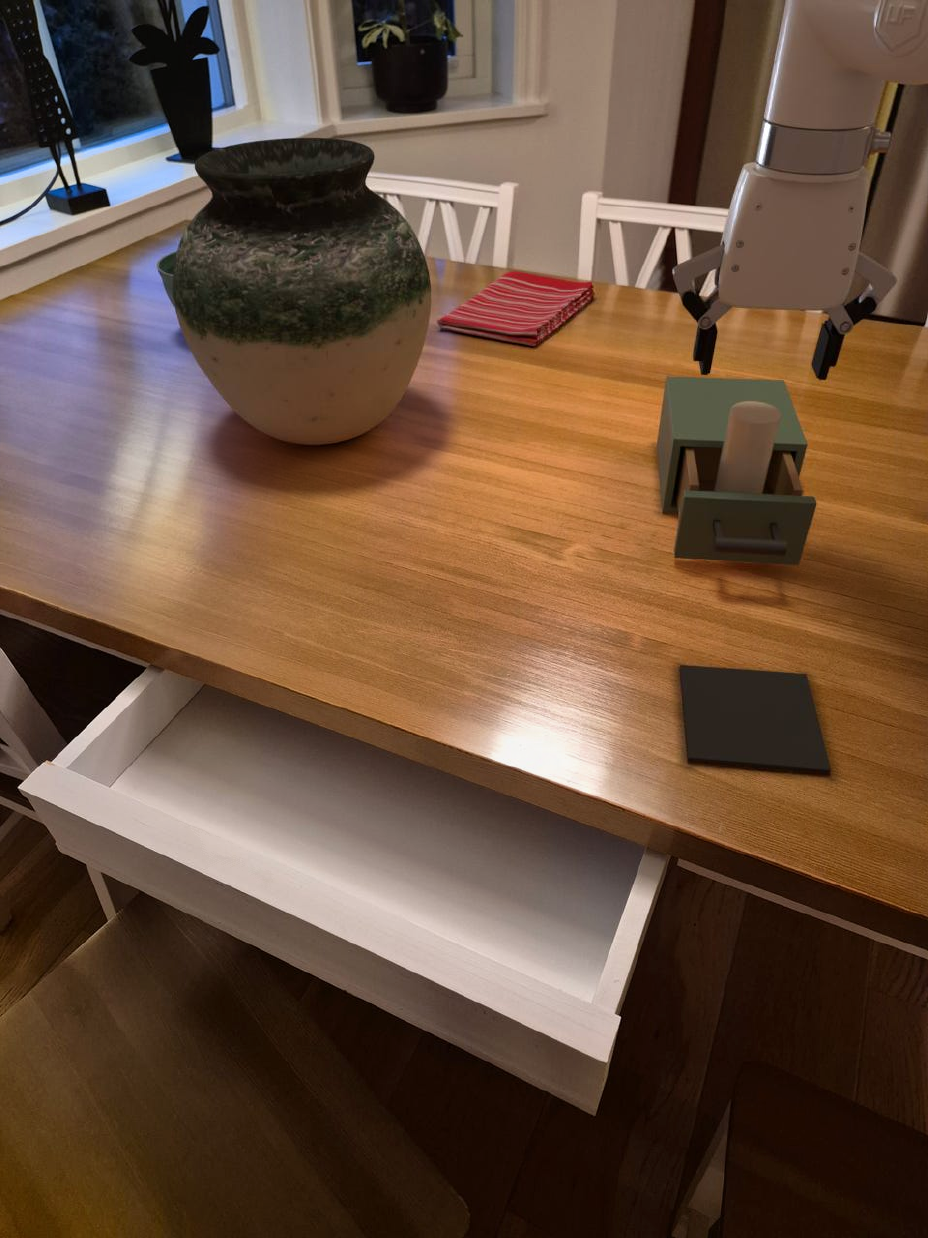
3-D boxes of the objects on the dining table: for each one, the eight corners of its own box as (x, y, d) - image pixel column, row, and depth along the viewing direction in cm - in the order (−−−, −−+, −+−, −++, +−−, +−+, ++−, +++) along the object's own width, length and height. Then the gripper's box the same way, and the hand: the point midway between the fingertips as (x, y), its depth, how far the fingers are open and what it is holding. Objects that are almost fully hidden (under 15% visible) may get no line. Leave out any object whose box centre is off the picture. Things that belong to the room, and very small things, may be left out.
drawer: (807, 593, 74) (826, 529, 70) (676, 585, 76) (688, 522, 71) (777, 490, 88) (792, 431, 83) (667, 484, 89) (676, 426, 85)
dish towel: (597, 297, 136) (598, 280, 134) (537, 349, 120) (538, 330, 119) (503, 283, 143) (503, 267, 141) (435, 330, 127) (434, 313, 125)
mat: (804, 679, 67) (806, 673, 67) (829, 775, 60) (831, 770, 59) (679, 669, 69) (680, 664, 68) (687, 763, 61) (688, 757, 61)
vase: (180, 486, 93) (98, 192, 74) (236, 379, 115) (183, 131, 96) (433, 481, 93) (417, 185, 73) (441, 375, 114) (430, 124, 95)
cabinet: (787, 519, 85) (808, 444, 80) (662, 513, 87) (673, 438, 81) (767, 450, 96) (784, 379, 91) (656, 445, 98) (666, 375, 92)
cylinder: (752, 509, 83) (777, 401, 76) (757, 533, 80) (784, 423, 72) (707, 506, 84) (727, 399, 76) (710, 531, 80) (732, 421, 73)
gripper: (920, 139, 63) (855, 357, 74) (687, 136, 65) (657, 349, 76) (951, 162, 57) (874, 394, 68) (694, 159, 59) (661, 385, 70)
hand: (760, 370), depth 72 cm, fingers open, 9 cm apart
